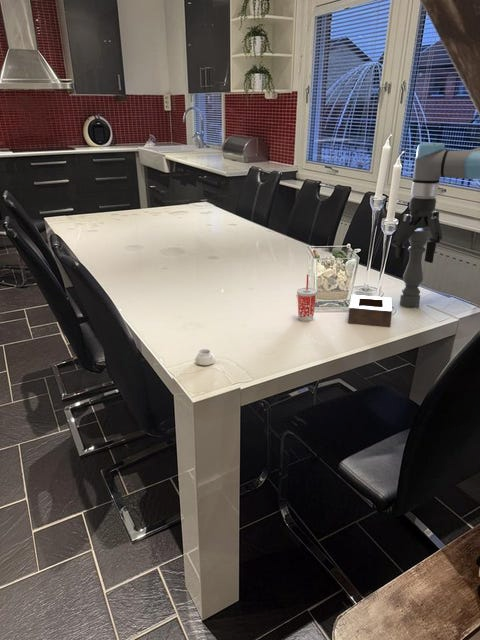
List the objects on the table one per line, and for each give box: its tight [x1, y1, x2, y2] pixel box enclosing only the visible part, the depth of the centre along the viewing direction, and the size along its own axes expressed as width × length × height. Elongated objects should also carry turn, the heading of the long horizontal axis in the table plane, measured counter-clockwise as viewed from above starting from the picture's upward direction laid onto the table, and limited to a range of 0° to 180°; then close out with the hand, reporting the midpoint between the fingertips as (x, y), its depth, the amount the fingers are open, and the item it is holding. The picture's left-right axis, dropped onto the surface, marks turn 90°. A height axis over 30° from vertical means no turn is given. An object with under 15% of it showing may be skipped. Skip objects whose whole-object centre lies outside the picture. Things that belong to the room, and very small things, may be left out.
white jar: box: [194, 348, 216, 366], centre depth 117 cm, size 5×3×5 cm
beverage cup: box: [296, 274, 318, 322], centre depth 142 cm, size 6×6×14 cm
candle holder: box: [399, 227, 429, 309], centre depth 150 cm, size 6×6×25 cm
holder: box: [347, 294, 393, 328], centre depth 143 cm, size 12×12×5 cm
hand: (413, 264), depth 150 cm, fingers open, 13 cm apart
